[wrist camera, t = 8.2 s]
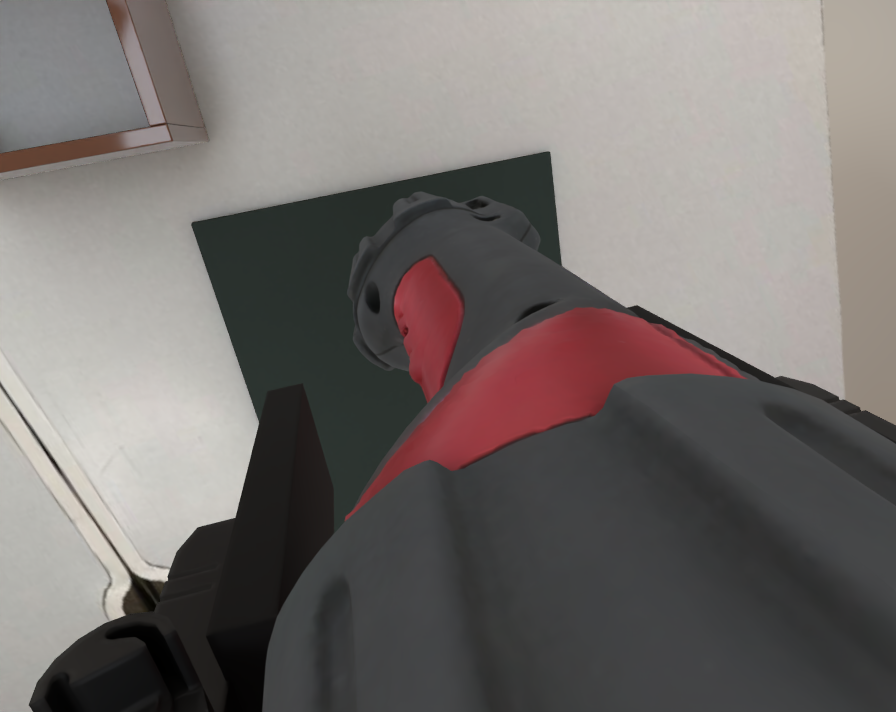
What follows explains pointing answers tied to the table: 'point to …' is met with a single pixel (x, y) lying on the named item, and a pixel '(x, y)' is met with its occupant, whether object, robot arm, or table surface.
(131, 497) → the table surface
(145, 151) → the brown open box
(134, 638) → the robot arm
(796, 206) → the table surface
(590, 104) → the table surface
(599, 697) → the flashlight
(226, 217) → the mat
